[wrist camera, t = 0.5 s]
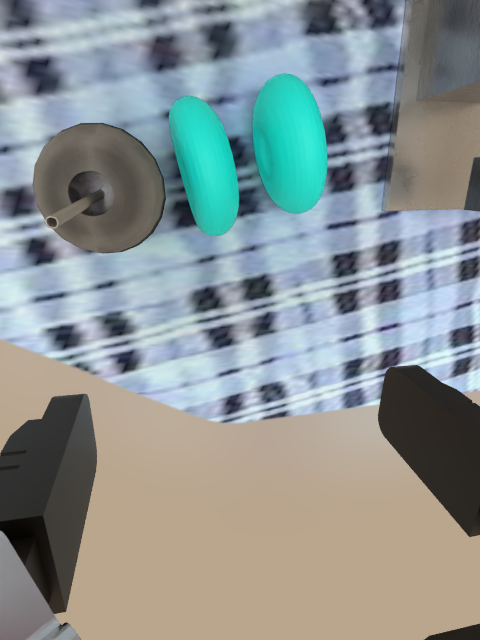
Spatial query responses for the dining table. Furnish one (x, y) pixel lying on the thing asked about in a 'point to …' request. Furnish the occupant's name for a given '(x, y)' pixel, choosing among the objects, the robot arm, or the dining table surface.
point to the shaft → (474, 187)
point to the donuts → (269, 146)
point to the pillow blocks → (435, 107)
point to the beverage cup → (99, 188)
